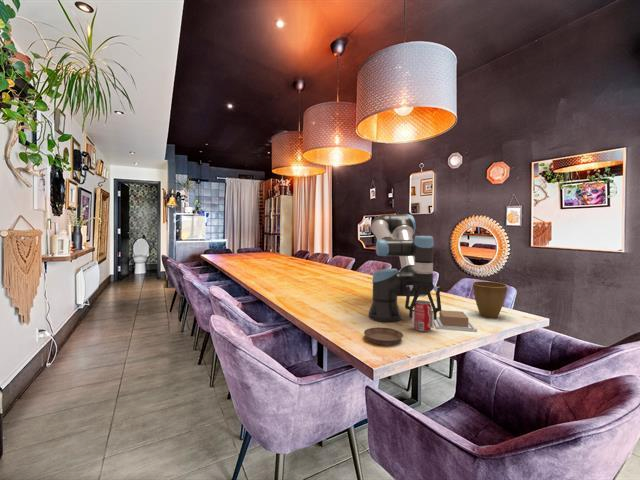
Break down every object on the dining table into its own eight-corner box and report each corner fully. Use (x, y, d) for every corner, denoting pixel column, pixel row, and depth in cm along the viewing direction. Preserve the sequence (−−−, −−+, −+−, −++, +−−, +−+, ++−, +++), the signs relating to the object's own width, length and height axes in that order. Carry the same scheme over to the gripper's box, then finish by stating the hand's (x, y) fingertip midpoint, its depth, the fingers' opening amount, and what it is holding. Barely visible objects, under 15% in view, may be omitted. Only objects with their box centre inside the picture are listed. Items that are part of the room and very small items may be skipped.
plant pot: (468, 311, 154) (468, 280, 154) (499, 312, 151) (500, 281, 151) (477, 319, 140) (477, 286, 139) (511, 321, 137) (512, 287, 136)
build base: (436, 328, 127) (436, 317, 127) (431, 319, 140) (432, 308, 140) (477, 331, 123) (477, 319, 123) (468, 321, 137) (468, 310, 137)
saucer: (375, 330, 125) (375, 324, 125) (409, 339, 115) (409, 332, 115) (356, 340, 114) (356, 333, 113) (392, 351, 104) (392, 343, 104)
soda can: (428, 327, 128) (429, 300, 128) (433, 333, 121) (433, 304, 121) (412, 326, 129) (412, 299, 129) (415, 332, 122) (416, 303, 122)
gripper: (399, 272, 123) (398, 327, 124) (450, 274, 118) (449, 331, 119) (398, 270, 130) (398, 321, 131) (447, 272, 126) (446, 325, 127)
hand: (422, 326), depth 125 cm, fingers closed on soda can, 7 cm apart
